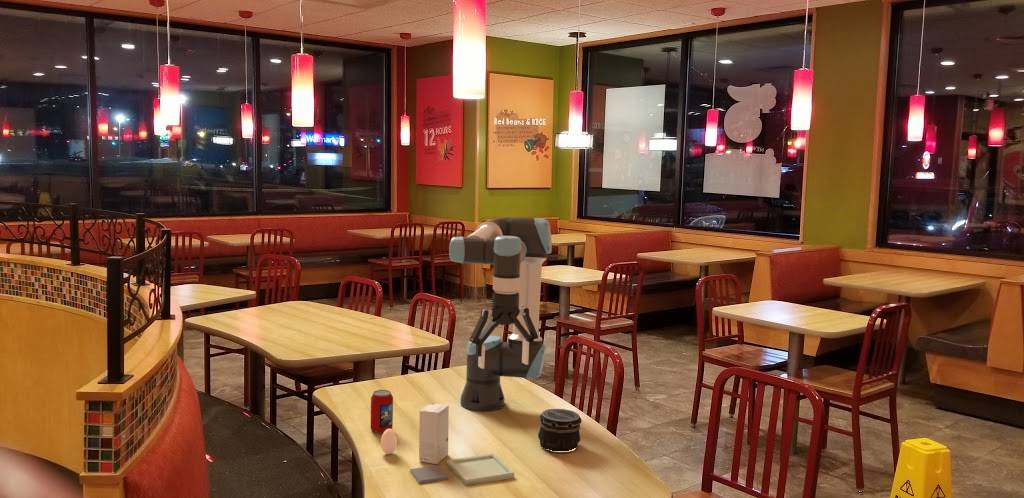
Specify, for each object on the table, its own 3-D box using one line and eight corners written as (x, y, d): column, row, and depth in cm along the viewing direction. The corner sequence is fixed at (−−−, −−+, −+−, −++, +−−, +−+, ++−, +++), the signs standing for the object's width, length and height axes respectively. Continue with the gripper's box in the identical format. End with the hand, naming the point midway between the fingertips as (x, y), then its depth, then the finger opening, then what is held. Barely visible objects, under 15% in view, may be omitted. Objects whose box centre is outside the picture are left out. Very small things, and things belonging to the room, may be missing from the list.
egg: (389, 458, 223) (390, 433, 222) (377, 454, 226) (377, 429, 225) (400, 453, 227) (400, 428, 226) (388, 449, 229) (388, 424, 229)
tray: (493, 458, 226) (493, 453, 226) (514, 477, 213) (514, 472, 213) (447, 465, 220) (447, 459, 220) (465, 485, 207) (465, 479, 207)
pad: (438, 467, 218) (438, 465, 218) (448, 479, 211) (448, 476, 211) (410, 471, 215) (410, 469, 214) (419, 483, 207) (419, 480, 207)
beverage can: (388, 435, 241) (388, 396, 239) (367, 432, 242) (367, 394, 240) (395, 427, 247) (396, 390, 246) (375, 425, 249) (375, 388, 247)
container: (584, 442, 241) (586, 410, 239) (573, 457, 229) (575, 424, 227) (544, 436, 245) (546, 404, 243) (531, 450, 233) (533, 417, 231)
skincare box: (437, 465, 220) (438, 413, 218) (417, 461, 221) (418, 410, 220) (448, 454, 228) (450, 404, 226) (429, 451, 229) (430, 401, 227)
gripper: (539, 287, 230) (536, 358, 233) (459, 291, 220) (457, 365, 222) (551, 291, 223) (548, 365, 226) (469, 296, 213) (467, 372, 216)
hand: (503, 365), depth 224 cm, fingers open, 13 cm apart
